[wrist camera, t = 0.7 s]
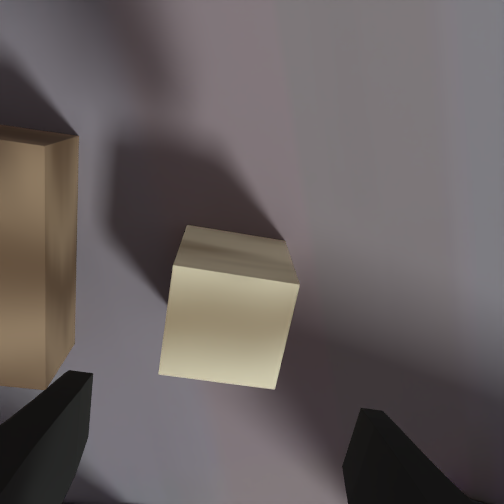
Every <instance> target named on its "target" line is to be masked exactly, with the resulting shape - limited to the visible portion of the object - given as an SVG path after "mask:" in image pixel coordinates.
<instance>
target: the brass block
mask: <svg viewBox="0 0 504 504" xmlns="http://www.w3.org/2000/svg"><path fill="white" fill-rule="evenodd" d="M78 150H79V136H76V135H69V134H62V133H55V132H48V131H41V130H34V129H28V128H21V127H14V126H7V125H0V386H9V387H19V388H29V389H39V390H45V389H47V387H48V385H49V384H50V382H51V381H52V379H53V377H54V376H55V374H56V373H57V371H58V370H59V368H60V366H61V365H62V363H63V362H64V360H65V358H66V357H67V355H68V354H69V352H70V350H71V349H72V347H73V346H74V344H75V300H76V250H77V200H78Z"/></svg>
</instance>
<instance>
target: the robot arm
mask: <svg viewBox="0 0 504 504" xmlns="http://www.w3.org/2000/svg"><path fill="white" fill-rule="evenodd" d="M92 382H93V373H86V372H78V371H71V370H69V371H67V372H66V373H64V374H63V375H62V376H61V377H60V378H58V379H57V380H56V381H55V382H54V383H53V384H51V385H50V386H49V387H48V388H47V389H45V390H44V391H43V392H42V393H41V394H39V395H38V396H37V397H36V398H35V399H33V400H32V401H31V402H30V403H28V404H27V405H26V406H24V407H23V408H22V409H21V410H19V411H18V412H17V413H16V414H14V415H13V416H12V417H10V418H9V419H8V420H6V421H5V422H4V423H2V424H1V425H0V504H62V502H63V500H64V498H65V496H66V494H67V492H68V489H69V487H70V485H71V483H72V481H73V479H74V476H75V474H76V471H77V468H78V465H79V463H80V460H81V457H82V454H83V451H84V448H85V445H86V442H87V439H88V433H89V420H90V407H91V395H92ZM342 467H343V474H344V480H345V487H346V493H347V499H348V504H474V503H473V502H472V501H471V500H470V499H469V498H468V497H467V496H466V495H465V494H464V493H463V492H462V491H460V490H459V489H458V488H457V487H456V486H455V485H454V484H453V483H452V482H451V481H450V480H449V479H448V478H447V477H446V476H445V475H444V474H443V473H442V472H441V471H440V470H439V469H438V468H437V467H436V466H435V465H434V464H433V463H432V462H431V461H430V460H429V459H428V458H427V457H426V456H425V455H424V454H423V453H422V452H421V450H420V449H419V448H418V447H417V446H416V445H415V444H414V443H413V442H412V441H411V440H410V439H409V438H408V437H407V436H406V435H405V433H404V432H403V431H402V430H401V429H400V428H399V427H398V426H397V425H396V424H395V423H394V422H393V421H392V420H391V419H390V418H389V417H388V416H387V415H386V414H385V413H384V412H383V411H380V410H372V409H364V408H361V409H360V413H359V416H358V419H357V422H356V425H355V428H354V431H353V434H352V438H351V441H350V444H349V447H348V450H347V453H346V456H345V459H344V463H343V466H342Z"/></svg>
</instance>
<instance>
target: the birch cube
mask: <svg viewBox="0 0 504 504" xmlns="http://www.w3.org/2000/svg"><path fill="white" fill-rule="evenodd" d="M299 286H300V284H299V281H298V278H297V275H296V272H295V269H294V266H293V263H292V260H291V257H290V254H289V251H288V248H287V245H286V242H285V241H284V240H277V239H271V238H265V237H259V236H253V235H247V234H241V233H235V232H228V231H222V230H216V229H210V228H204V227H198V226H192V225H187V226H186V229H185V232H184V235H183V238H182V241H181V244H180V247H179V250H178V252H177V255H176V258H175V261H174V264H173V270H172V277H171V285H170V292H169V299H168V307H167V314H166V322H165V329H164V337H163V344H162V352H161V359H160V366H159V374H160V375H167V376H175V377H183V378H190V379H198V380H206V381H213V382H221V383H228V384H236V385H244V386H251V387H259V388H267V389H274V390H275V387H276V382H277V378H278V374H279V370H280V366H281V361H282V357H283V353H284V349H285V345H286V340H287V336H288V332H289V328H290V324H291V319H292V315H293V311H294V307H295V303H296V298H297V294H298V290H299Z"/></svg>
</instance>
